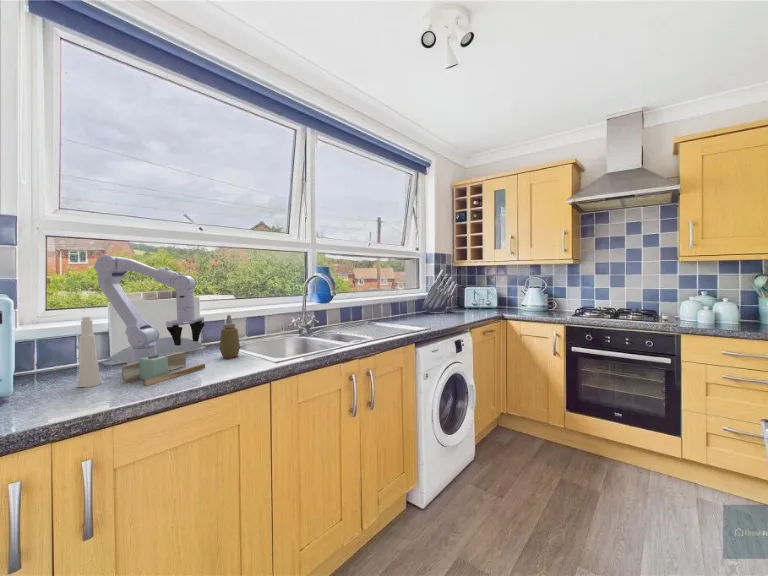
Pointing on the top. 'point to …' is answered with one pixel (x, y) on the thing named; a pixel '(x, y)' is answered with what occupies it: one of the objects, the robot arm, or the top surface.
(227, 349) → the squeeze bottle
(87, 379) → the cosmetic bottle
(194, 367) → the cleat board
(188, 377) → the top surface
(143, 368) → the teal box
